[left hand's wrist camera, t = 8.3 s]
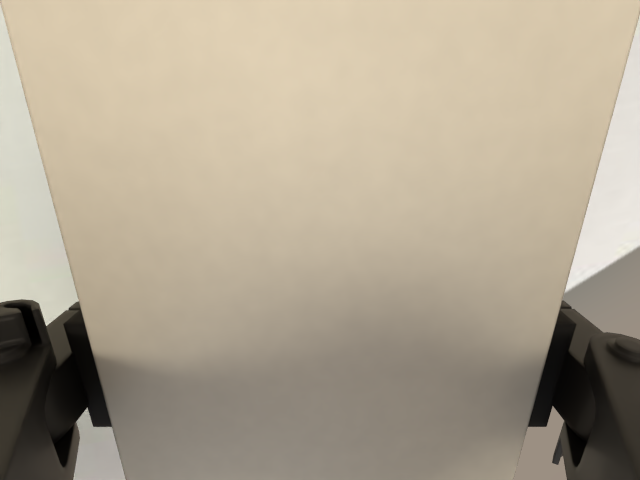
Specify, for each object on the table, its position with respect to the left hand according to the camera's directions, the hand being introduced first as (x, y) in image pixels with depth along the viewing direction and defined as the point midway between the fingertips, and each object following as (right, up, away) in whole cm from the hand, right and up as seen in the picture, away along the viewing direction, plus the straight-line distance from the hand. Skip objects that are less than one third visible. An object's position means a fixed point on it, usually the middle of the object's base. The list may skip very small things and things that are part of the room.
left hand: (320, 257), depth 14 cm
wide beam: (0, +21, -7) cm, 23 cm away
